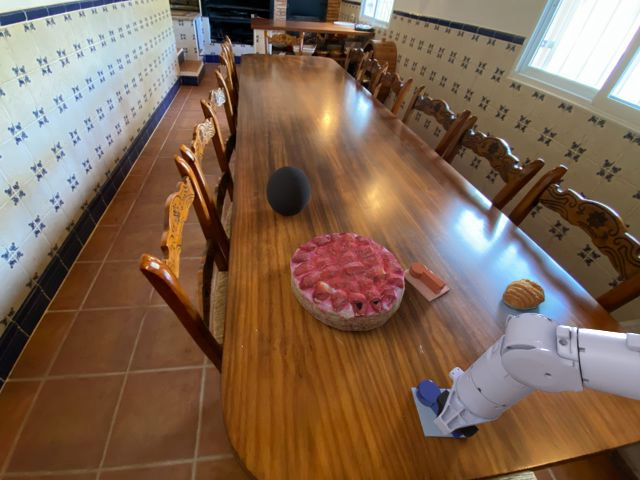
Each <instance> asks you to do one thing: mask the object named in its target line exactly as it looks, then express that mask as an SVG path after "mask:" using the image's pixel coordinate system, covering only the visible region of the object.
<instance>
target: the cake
mask: <svg viewBox="0 0 640 480" xmlns="http://www.w3.org/2000/svg"><path fill="white" fill-rule="evenodd" d="M289 265H290V286H291V290H292V292H293V294H294V297H295V298H296V299H297V300H298V302H299V303H300V305H301V307H303V308H304V309H305V310H306V311H307V312H308V313H309V314H311V316H313V317H314V318H315V319H317V320H318V321H319V322H321V323H322V324H325V325H327V326H330V327H332V328H335V329H338V330H341V331H350V332H351V331H352V332H353V331H354V332H363V331H364V332H365V331H370V330H373V329H376V328H378V327H381V326H383V325H384V324H385V323H386V322H387V321H388V320H389V319H390V318H391V317H392V316H393V315H394V314H395V313H396V312H397V311H398V310H399V308H400V306H401V304H402V303H401V302H402V299H403V296H404V293H405V290H406V288H405V287H406V286H405V278H404V271H405V270H404V268H403V267H402V265H401V264H400V263H399V261H398V260H397V258H396V257H395V255H394V253H393V252H392V251H389V250H388V249H386V247H384V246H383V245H381V244H379V243H377V242H376V241H374V240H373V239H372V238H371V237H370V236H366V235H365V236H364V235H359V234H356V233H353V232H342V233H339V232H335V231H334V232H332V233H330V234H319V235H317V236H314V237H313V238H312V239H310V240H309V241H308V242H307V243H304V244H300V245H299V246H298V247H297V248H296V250H295V252H294V254H293V256H292V257H291V259H290V260H289Z"/></svg>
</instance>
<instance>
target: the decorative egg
mask: <svg viewBox="0 0 640 480" xmlns="http://www.w3.org/2000/svg"><path fill="white" fill-rule="evenodd" d="M311 190H312V189H311V183H310V180H309V178H308V176H307V175H306V173H305V172H304V171H303V170H301V169H300V168H299V167H296V166H295V165H294V166H292V165H285V166H282V167H279V168H277V169H276V170H275V171H274V172H273V173H272V174H271V175H270V176H269V180H268V181H267V185H266V192H265V193H266V199H267V202H268V204H269V206H270V208H271V209H272V210H273V211H274V212H275V213H276V214H278V215H280V216H283V217H293V216H297V215H299V214H300V213H302V212H303V211H304V210H305V208H306V207H307V206H308V204H309V202H310V199H311V194H312V193H311V192H312V191H311Z"/></svg>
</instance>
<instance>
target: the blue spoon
mask: <svg viewBox="0 0 640 480" xmlns="http://www.w3.org/2000/svg"><path fill="white" fill-rule="evenodd" d="M415 388H416V396H417V399H418V400H419V401H420V403H422V404H423V405H424V406H426V407H431V409H432V410H433V412H434V413H435V414H436V415H437V413H438V409H439V408H438V404H437V402H436V399H437V397H438V395H440V394H441V391H440V389H441V388H440V387H439V386H438V385H437V384H436V383H435V382H434V381H432V380H430V379H423V380H421V381H420V383H418V385H417V386H416V387H415ZM451 434H452V435H453V436H454V437H453V438H454V439H455V440H458V438H460V436H462V434H461V433H459V432H451Z"/></svg>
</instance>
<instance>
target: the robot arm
mask: <svg viewBox="0 0 640 480" xmlns="http://www.w3.org/2000/svg"><path fill="white" fill-rule="evenodd" d="M504 333H505V334H503V335H502V336H501V337H500V338H498V340H497V341H496V342H495V343H494V344H492V345H491V346H490V347H488V349H487V350H485V351H484V352H483V354H481V356H479V357H478V358H477V359H476V361H474V362H473V363H472V364H471V365H470V366H469V367H468V368H467V369H466V370H465V371H463V370H462V369H461V367H459V366H456V367H454V368H453V369H452V370H451V371H450V372H448V376H449V378H450V379H451V380H452V385H451V388H450V389H451V390H450V392H449V391H448V390H447V389H448V388H445V389H446V390H444V391H443V392H442V393H441V394H440V395H438V397H437V399H436V402H437V404H438V408H439V409H438V413H437V416H436V419H435V420H434V421H433V422H434V423H435V424H436V426H437V425H438V426H437V427H438V428H439V430H440V431H441V432H442V433H443V434H444V436H447V435H448V434H450V433H451V432H459V433H461V434H462V435H464V436H465V437H468V438H471V437H474V436H475V434H476V433H478V432H479V431H480V429H479V428H478V426H477V425H482V424H487V423H492V422H494V421H495V420H497V419H499V417H500V416H501V415H502V414H503V413H504V412H506V411H507V410H509V409H510V408H512V407H513V406H515V405H516V404H518V403H519V402H521V401H522V400H524V399H526V398H527V397H529V396H530V395H532V394H533V393H535V392H536V391H541V392H543V393H549V394H558V393H565V392H575V393H579V392H580V393H581V392H582V393H583V392H584V388H585V389H588V390H593V391H597V392H601V393H605V394H609V395H614V396H618V397H622V398H627V399H630V400H636V401H639V402H640V334H639V333H632V332H626V333H624V332H623V333H622V332H615V331H606V330H599V329H591V328H585V327H575V326H570V325H569V326H568V325H561V324H560V323H559V322H557V320H555V319H553V318H551V317H550V316H547V315H544V314H541V313H536V312H535V313H534V312H524V313H520V314H518V315H512V314H509V315H508V316H507V317H506V320H505V332H504Z"/></svg>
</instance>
